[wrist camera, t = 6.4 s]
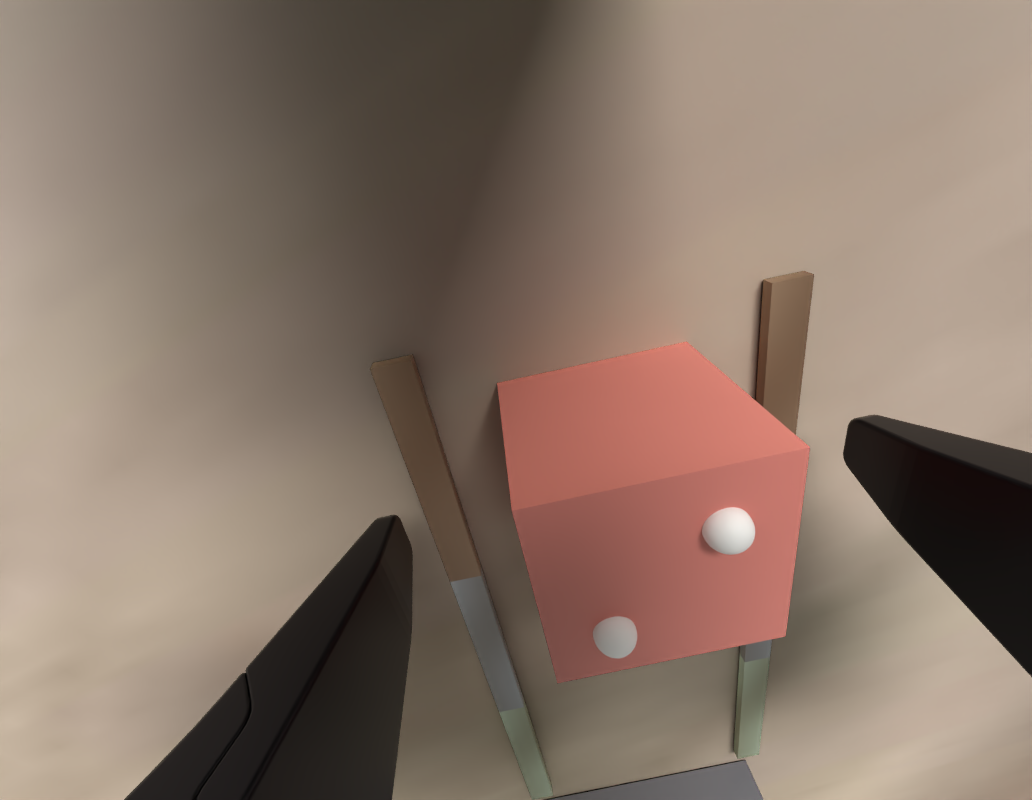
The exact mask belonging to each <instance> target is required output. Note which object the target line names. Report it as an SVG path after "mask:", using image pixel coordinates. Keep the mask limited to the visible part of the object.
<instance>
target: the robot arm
mask: <svg viewBox="0 0 1032 800" xmlns="http://www.w3.org/2000/svg"><path fill="white" fill-rule="evenodd" d="M843 456H844V460H845V463H846V465H847V466H848V468H849V469H850V470H851V472H852V473H853V474H854V476H855V477H856V478H857V480H858V481H859V482H860V484H861V485H862V486H863V488H864V489H865V490H866V492H867V493H868V494H869V495H870V497H871V498H872V499H873V501H874V502H875V503H876V505H877V506H878V507H879V509H880V510H881V511H882V513H883V514H884V515H885V517H886V518H887V519H888V520H889V522H890V523H891V524H892V525H893V527H894V528H895V529H896V530H897V531H898V533H899V534H900V535H901V536H902V537H903V538H904V539H905V540H906V542H907V543H908V544H909V545H910V546H911V547H912V548H913V549H914V550H915V551H916V552H917V553H918V555H919V556H920V557H921V558H922V559H923V560H924V561H925V562H926V563H927V564H928V565H929V566H930V568H931V569H932V570H933V571H934V572H935V573H936V574H937V575H938V576H939V577H940V578H941V579H942V580H943V582H944V583H945V584H946V585H947V586H948V587H949V588H950V589H951V590H952V591H953V592H954V593H955V595H956V596H957V597H958V598H959V599H960V600H961V601H962V602H963V603H964V604H965V605H966V606H967V608H968V609H969V610H970V611H971V612H972V613H973V614H974V615H975V616H976V617H977V618H978V619H979V620H980V622H981V623H982V624H983V625H984V626H985V627H986V628H987V629H988V630H989V631H990V632H991V633H992V635H993V636H994V637H995V638H996V639H997V640H998V641H999V642H1000V643H1001V644H1002V645H1003V646H1004V648H1005V649H1006V650H1007V651H1008V652H1009V653H1010V654H1011V655H1012V656H1013V657H1014V658H1015V659H1016V660H1017V662H1018V663H1019V664H1020V665H1021V666H1022V667H1023V668H1024V669H1025V670H1026V671H1027V672H1028V673H1029V675H1030V676H1031V677H1032V453H1029V452H1025V451H1021V450H1017V449H1013V448H1009V447H1005V446H1001V445H997V444H993V443H989V442H985V441H980V440H976V439H972V438H968V437H964V436H960V435H956V434H952V433H948V432H944V431H940V430H936V429H932V428H928V427H924V426H920V425H916V424H911V423H907V422H903V421H899V420H895V419H891V418H887V417H883V416H879V415H868V416H864V417H859V418H855V419H853V420H851V421H850V423H849V425H848V429H847V434H846V440H845V446H844V451H843ZM412 571H413V555H412V547H411V544H410V541H409V539H408V536H407V534H406V532H405V529H404V527H403V524H402V522H401V520H400V518H399V517H398V516H397V515H390V516H385V517H380V518H377V519H376V520H375V521H374V522H373V523H372V524H371V525H370V526H369V527H368V529H367V530H366V531H365V532H364V533H363V534H362V536H361V537H360V538H359V539H358V540H357V541H356V542H355V544H354V545H353V546H352V547H351V548H350V549H349V551H348V552H347V553H346V554H345V555H344V556H343V557H342V559H341V560H340V561H339V562H338V563H337V564H336V566H335V567H334V568H333V569H332V570H331V571H330V572H329V574H328V575H327V576H326V577H325V578H324V579H323V580H322V582H321V583H320V584H319V585H318V586H317V587H316V589H315V590H314V591H313V592H312V593H311V594H310V595H309V597H308V598H307V599H306V600H305V601H304V602H303V604H302V605H301V606H300V607H299V608H298V609H297V610H296V612H295V613H294V614H293V615H292V616H291V617H290V619H289V620H288V621H287V622H286V623H285V624H284V625H283V627H282V628H281V629H280V630H279V631H278V632H277V634H276V635H275V636H274V637H273V638H272V639H271V640H270V642H269V643H268V644H267V645H266V646H265V647H264V648H263V650H262V651H261V652H260V653H259V654H258V655H257V657H256V658H255V659H254V660H253V661H252V662H251V663H250V665H249V666H248V667H247V668H246V673H242V674H241V675H240V676H239V677H238V678H237V679H236V681H235V682H234V683H233V684H232V685H231V686H230V687H229V689H228V690H227V691H226V692H225V693H224V694H223V695H222V697H221V698H220V699H219V700H218V701H217V702H216V703H215V704H214V705H213V707H212V708H211V709H210V710H209V711H208V712H207V713H206V714H205V715H204V717H203V718H202V719H201V720H200V721H199V722H198V723H197V724H196V726H195V727H194V728H193V729H192V730H191V731H190V732H189V733H188V734H187V735H186V736H185V737H184V738H183V739H182V740H181V741H180V742H179V743H178V745H177V746H176V747H175V748H174V749H173V750H172V751H171V752H170V753H169V754H168V755H167V756H166V757H165V758H164V759H163V760H162V761H161V762H160V763H159V764H158V766H157V767H156V768H155V769H154V770H153V771H152V772H151V773H150V774H149V775H148V776H147V777H146V778H145V779H144V780H143V781H142V782H141V783H140V784H139V785H138V786H137V787H136V788H135V789H134V790H133V791H132V792H131V793H130V794H129V795H128V796H127V797H126V798H125V799H124V800H392V794H393V786H394V777H395V769H396V761H397V752H398V744H399V736H400V727H401V719H402V711H403V702H404V694H405V686H406V677H407V669H408V661H409V652H410V644H411V634H412Z"/></svg>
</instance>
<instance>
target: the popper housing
mask: <svg viewBox="0 0 1032 800" xmlns="http://www.w3.org/2000/svg"><path fill="white" fill-rule="evenodd" d="M549 800H763V797H762V795H761V793H760V791H759V789H758V787H757V784H756V782H755V780H754V778H753V776H752V773H751V771H750V769H749V767H748V765H747V762H746V760H744V761H739V762H734V763H729V764H724V765H719V766H714V767H709V768H704V769H699V770H694V771H689V772H684V773H679V774H674V775H669V776H664V777H659V778H654V779H649V780H644V781H639V782H634V783H629V784H624V785H619V786H614V787H609V788H604V789H599V790H594V791H589V792H584V793H579V794H574V795H569V796H564V797H559V798H554V799H549Z"/></svg>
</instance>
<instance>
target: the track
mask: <svg viewBox="0 0 1032 800" xmlns="http://www.w3.org/2000/svg"><path fill="white" fill-rule="evenodd" d="M813 279H814V274H811V273H808V272H806V271H801V272H797V273H792V274H787V275H783V276H778V277H773V278H769V279H764V280H763V294H762V310H761V325H760V341H759V357H758V373H757V388H756V402H758V403H759V404H760V405H761V406H762V407H763V408H765V409H766V410H767V411H768V412H769V413H770V414H772V415H773V416H774V417H775V418H776V419H777V420H779V421H780V422H781V423H782V424H783V425H784V426H786V427H787V428H788V429H789V430H790V431H791V432H793V433H794V434H795V435H796V427H797V418H798V410H799V401H800V392H801V384H802V375H803V366H804V357H805V349H806V340H807V331H808V323H809V314H810V305H811V297H812V288H813ZM370 371H371V373H372V376H373V379H374V381H375V384H376V387H377V389H378V392H379V394H380V397H381V400H382V402H383V405H384V408H385V410H386V413H387V416H388V418H389V421H390V424H391V426H392V429H393V432H394V434H395V437H396V440H397V442H398V445H399V448H400V450H401V453H402V456H403V458H404V461H405V464H406V466H407V469H408V472H409V474H410V477H411V479H412V482H413V485H414V487H415V490H416V493H417V495H418V498H419V501H420V503H421V506H422V509H423V511H424V514H425V517H426V519H427V522H428V525H429V527H430V530H431V533H432V535H433V538H434V541H435V543H436V546H437V549H438V551H439V554H440V557H441V559H442V562H443V564H444V567H445V570H446V572H447V575H448V578H449V580H450V583H451V586H452V588H453V591H454V594H455V596H456V599H457V602H458V604H459V607H460V610H461V612H462V615H463V618H464V620H465V623H466V626H467V628H468V631H469V634H470V636H471V639H472V642H473V644H474V647H475V649H476V652H477V655H478V657H479V660H480V663H481V665H482V668H483V671H484V673H485V676H486V679H487V681H488V684H489V687H490V689H491V692H492V695H493V697H494V700H495V703H496V705H497V708H498V711H499V713H500V716H501V719H502V721H503V724H504V727H505V729H506V732H507V734H508V737H509V740H510V742H511V745H512V748H513V750H514V753H515V756H516V758H517V761H518V764H519V766H520V769H521V772H522V774H523V777H524V780H525V782H526V785H527V788H528V790H529V793H530V796H531V798H532V800H534V799H539V798H544V797H549V796H553V791H552V785H551V782H550V779H549V776H548V773H547V769H546V766H545V763H544V760H543V757H542V754H541V751H540V748H539V745H538V742H537V738H536V735H535V732H534V729H533V726H532V723H531V720H530V717H529V714H528V711H527V707H526V704H525V701H524V698H523V695H522V692H521V689H520V686H519V683H518V680H517V677H516V673H515V670H514V667H513V664H512V661H511V658H510V655H509V652H508V649H507V646H506V642H505V639H504V636H503V633H502V630H501V627H500V624H499V621H498V618H497V615H496V611H495V608H494V605H493V602H492V599H491V596H490V593H489V590H488V587H487V584H486V580H485V577H484V574H483V571H482V568H481V565H480V562H479V559H478V556H477V553H476V550H475V546H474V543H473V540H472V537H471V534H470V531H469V528H468V525H467V522H466V519H465V515H464V512H463V509H462V506H461V503H460V500H459V497H458V494H457V491H456V488H455V484H454V481H453V478H452V475H451V472H450V469H449V466H448V463H447V460H446V457H445V453H444V450H443V447H442V444H441V441H440V438H439V435H438V432H437V429H436V426H435V422H434V419H433V416H432V413H431V410H430V407H429V404H428V401H427V398H426V395H425V392H424V388H423V385H422V382H421V379H420V376H419V373H418V370H417V367H416V364H415V361H414V357H413V354H412V355H408V356H403V357H398V358H394V359H389V360H384V361H380V362H375V363H373V364H372V366H371V368H370ZM771 645H772V639H771V640H766V641H761V642H756V643H751V644H746V645H742V646H740V657H739V673H738V688H737V704H736V720H735V736H734V752H735V754H736V756H737V758H738V759H739V758H744V757H749V756H754V755H759V749H760V740H761V732H762V723H763V714H764V706H765V697H766V688H767V679H768V671H769V662H770V653H771Z"/></svg>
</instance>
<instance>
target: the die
mask: <svg viewBox="0 0 1032 800" xmlns="http://www.w3.org/2000/svg"><path fill="white" fill-rule="evenodd" d="M497 386H498V395H499V404H500V412H501V421H502V430H503V439H504V447H505V456H506V465H507V473H508V482H509V491H510V500H511V508H512V513H513V517H514V521H515V525H516V529H517V532H518V536H519V540H520V544H521V547H522V551H523V555H524V559H525V562H526V566H527V570H528V574H529V577H530V581H531V585H532V589H533V592H534V596H535V600H536V604H537V608H538V611H539V615H540V619H541V623H542V626H543V630H544V634H545V638H546V641H547V645H548V649H549V653H550V656H551V660H552V664H553V668H554V671H555V675H556V679H557V683H562V682H567V681H572V680H577V679H581V678H586V677H591V676H596V675H601V674H606V673H611V672H615V671H620V670H625V669H630V668H635V667H640V666H645V665H649V664H654V663H659V662H664V661H669V660H674V659H678V658H683V657H688V656H693V655H698V654H703V653H708V652H712V651H717V650H722V649H727V648H732V647H737V646H742V645H746V644H751V643H756V642H761V641H766V640H771V639H776V638H780V637H785V636H786V629H787V621H788V613H789V606H790V598H791V590H792V582H793V575H794V567H795V559H796V552H797V544H798V536H799V528H800V521H801V513H802V505H803V497H804V490H805V482H806V474H807V467H808V459H809V451H810V447H809V446H808V445H807V444H805V443H804V442H803V441H802V440H801V439H800V438H798V437H797V436H796V435H795V434H794V433H793V432H791V431H790V430H789V429H788V428H787V427H786V426H784V425H783V424H782V423H781V422H780V421H779V420H777V419H776V418H775V417H774V416H773V415H772V414H770V413H769V412H768V411H767V410H766V409H765V408H763V407H762V406H761V405H760V404H759V403H758V402H756V401H755V400H754V399H753V398H752V397H751V396H749V395H748V394H747V393H746V392H745V391H744V390H742V389H741V388H740V387H739V386H738V385H737V384H735V383H734V382H733V381H732V380H731V379H730V378H728V377H727V376H726V375H725V374H724V373H723V372H721V371H720V370H719V369H718V368H717V367H716V366H714V365H713V364H712V363H711V362H710V361H709V360H707V359H706V358H705V357H704V356H703V355H702V354H700V353H699V352H698V351H697V350H696V349H695V348H693V347H692V346H691V345H690V344H689V343H688V342H683V343H678V344H674V345H669V346H665V347H660V348H656V349H651V350H646V351H642V352H637V353H633V354H628V355H623V356H619V357H614V358H610V359H605V360H600V361H596V362H591V363H587V364H582V365H578V366H573V367H568V368H564V369H559V370H555V371H550V372H545V373H541V374H536V375H532V376H527V377H523V378H518V379H513V380H509V381H504V382H500V383H497Z"/></svg>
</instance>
